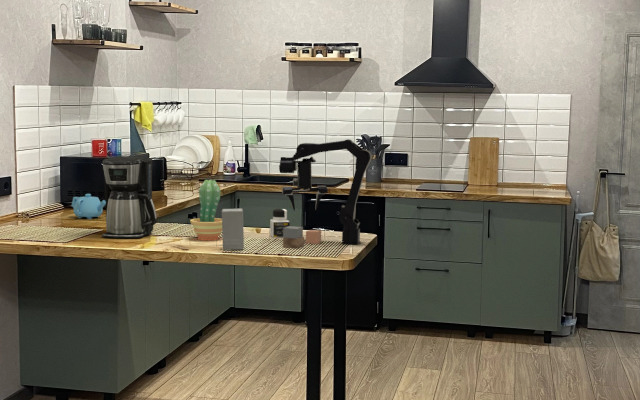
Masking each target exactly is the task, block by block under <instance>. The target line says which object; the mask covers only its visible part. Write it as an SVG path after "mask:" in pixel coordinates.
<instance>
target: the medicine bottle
mask: <svg viewBox="0 0 640 400" xmlns="http://www.w3.org/2000/svg"><path fill="white" fill-rule="evenodd" d="M269 222H270V223H269V224H270V225H269V229H270V230H269V236H270V237H272V238H273V239H274V238H275V239H278V238H280V239H283V233H284V228H285V227H288V226H291V225H290V224H291V223H290V220H288V210H287V209H285V208H275V209H273V210H272V219H270V221H269Z"/></svg>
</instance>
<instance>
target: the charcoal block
mask: <svg viewBox="0 0 640 400" xmlns="http://www.w3.org/2000/svg"><path fill="white" fill-rule="evenodd" d="M303 235H304V227H303V226H291V225H290V226H288V227H285V228H284V233H283V238H292V239H298V238H301V237H304V236H303ZM283 238H282V239H283Z"/></svg>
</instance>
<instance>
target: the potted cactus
mask: <svg viewBox="0 0 640 400" xmlns="http://www.w3.org/2000/svg"><path fill="white" fill-rule="evenodd" d="M198 200H199V203H200V204H199V205H200V210H199V212H200V213H199V217H198V218H192V219H190V225H191V226H192V227H193V230H194V233H195V234H196V235H197V240H198V239H199V240H198V241H207V240H208V241H217V240H219V236H220V235H221V233H222V218H218V217H217V218H216V213H217V208H218V205H219V202H220V200H221V187H220V186H219V185H218V183H217V181H216V179H214V180H212V179H209V180H208V179H205V180H204V181H203V182H202V184H201V185H200V186H199V188H198Z"/></svg>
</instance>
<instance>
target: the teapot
mask: <svg viewBox="0 0 640 400" xmlns="http://www.w3.org/2000/svg"><path fill="white" fill-rule="evenodd" d="M100 200H101V199H99V197H98V196H92V194H91V193H86V194H85V193H84V196H73V197H72V201H71V207H72V208H73V214H74V215H75V217H77V219H78V218H81V219H83V217H84V218H86V220H92V219H93V218H94V217H99V216H101V215H102V214H103V212H104V211H103V210H104V209H103V208H104V207H106V199H103V200H102V201H100Z"/></svg>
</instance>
